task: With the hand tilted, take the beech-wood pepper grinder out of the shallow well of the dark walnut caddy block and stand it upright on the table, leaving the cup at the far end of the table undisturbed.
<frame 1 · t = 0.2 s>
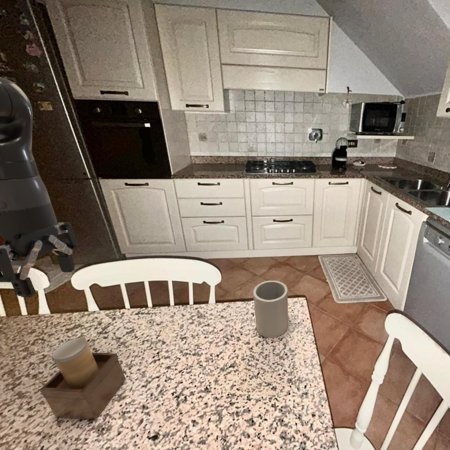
hand: (50, 282, 48), 24 cm above the table, tool pointing down, fingers open, 8 cm apart
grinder: (84, 377, 49), point 6 cm above the table, touching caddy
cup: (272, 325, 70), on the table
caddy: (93, 396, 51), on the table
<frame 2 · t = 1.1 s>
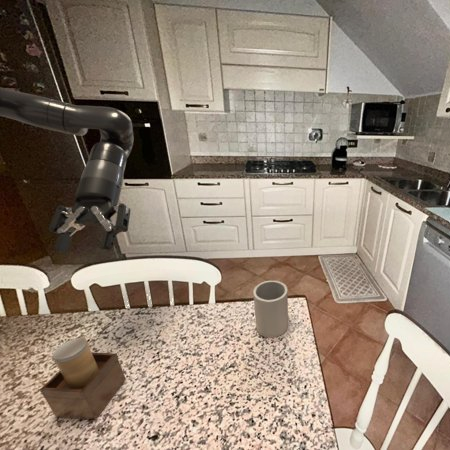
hand: (83, 251, 50), 29 cm above the table, tool tilted 45°, fingers open, 8 cm apart
nothing on the table moved.
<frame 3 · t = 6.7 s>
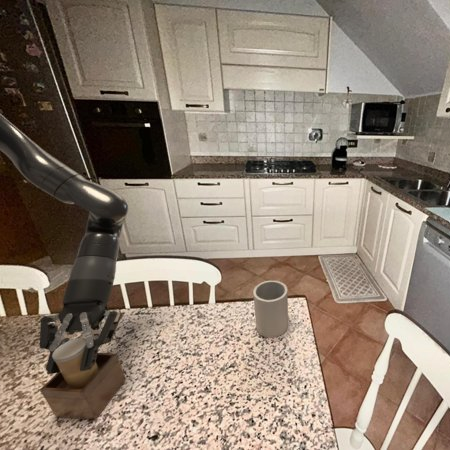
hand: (69, 371, 46), 10 cm above the table, tool tilted 45°, fingers closed on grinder, 5 cm apart
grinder: (84, 377, 49), point 6 cm above the table, touching caddy, gripper
everything else where it was.
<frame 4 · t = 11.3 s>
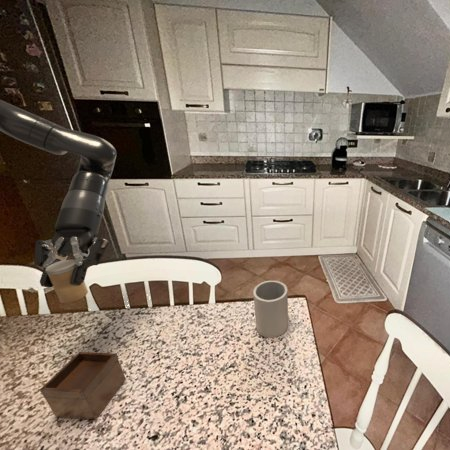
hand: (61, 285, 51), 22 cm above the table, tool tilted 45°, fingers closed on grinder, 5 cm apart
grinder: (74, 295, 55), point 18 cm above the table, touching gripper
everything else where it was.
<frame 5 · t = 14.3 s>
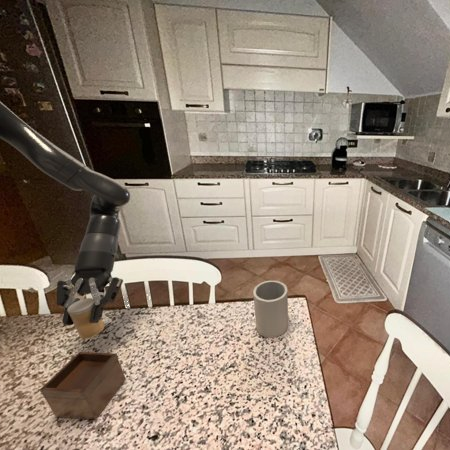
hand: (81, 323, 57), 10 cm above the table, tool tilted 45°, fingers closed on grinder, 5 cm apart
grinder: (92, 330, 60), point 6 cm above the table, touching gripper
everything else where it was.
when the fingers open (4 cm above the table, at t = 16.4 s): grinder stays where it is, on the table.
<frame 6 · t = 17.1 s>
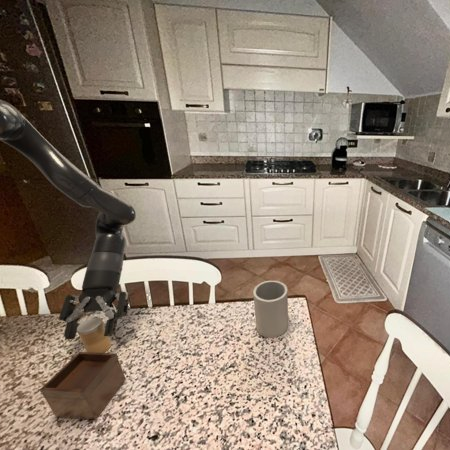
hand: (89, 337, 59), 5 cm above the table, tool tilted 45°, fingers open, 8 cm apart
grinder: (99, 348, 62), on the table
everything else where it was.
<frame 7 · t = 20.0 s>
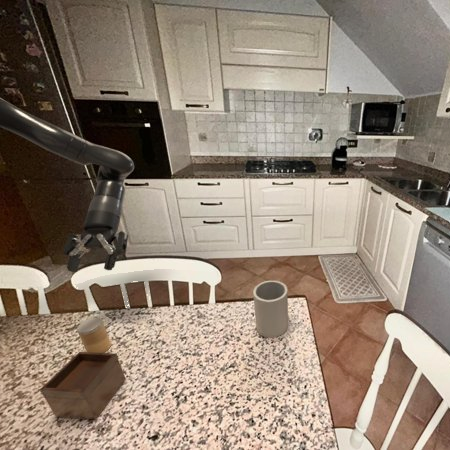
hand: (90, 270, 63), 18 cm above the table, tool tilted 45°, fingers open, 8 cm apart
nothing on the table moved.
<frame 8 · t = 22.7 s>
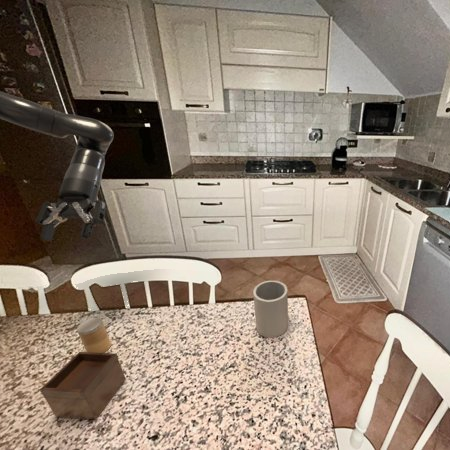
hand: (65, 239, 61), 27 cm above the table, tool tilted 45°, fingers open, 8 cm apart
nothing on the table moved.
at the end: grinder inside the target area (0.1 cm from its centre), on the table; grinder tilted 0°; cup moved 0.2 cm from its start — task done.
